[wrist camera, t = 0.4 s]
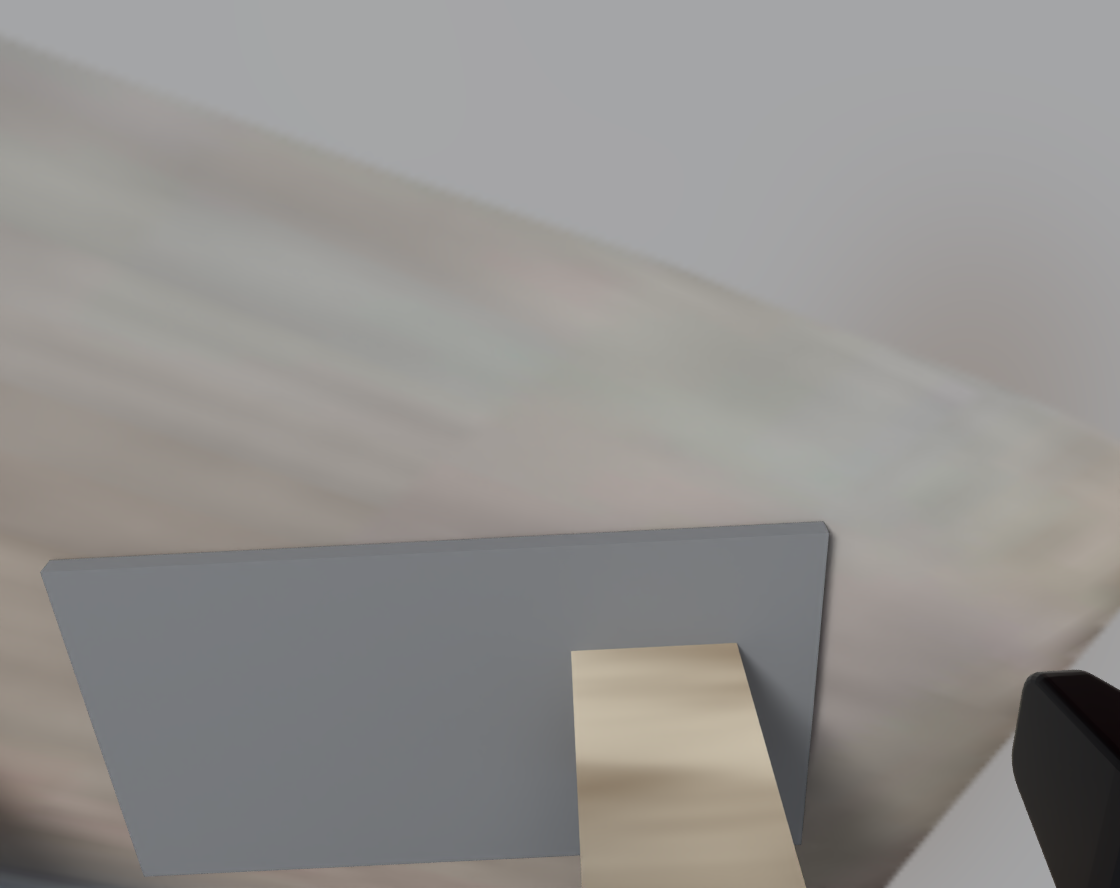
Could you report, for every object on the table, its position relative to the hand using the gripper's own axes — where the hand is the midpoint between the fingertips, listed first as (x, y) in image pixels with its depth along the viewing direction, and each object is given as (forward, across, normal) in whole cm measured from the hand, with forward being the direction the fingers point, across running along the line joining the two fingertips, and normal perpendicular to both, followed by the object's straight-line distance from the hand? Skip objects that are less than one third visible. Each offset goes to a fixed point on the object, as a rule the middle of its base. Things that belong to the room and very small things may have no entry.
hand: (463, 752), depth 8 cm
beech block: (+13, -3, +11) cm, 18 cm away
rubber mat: (+14, +2, +11) cm, 18 cm away
